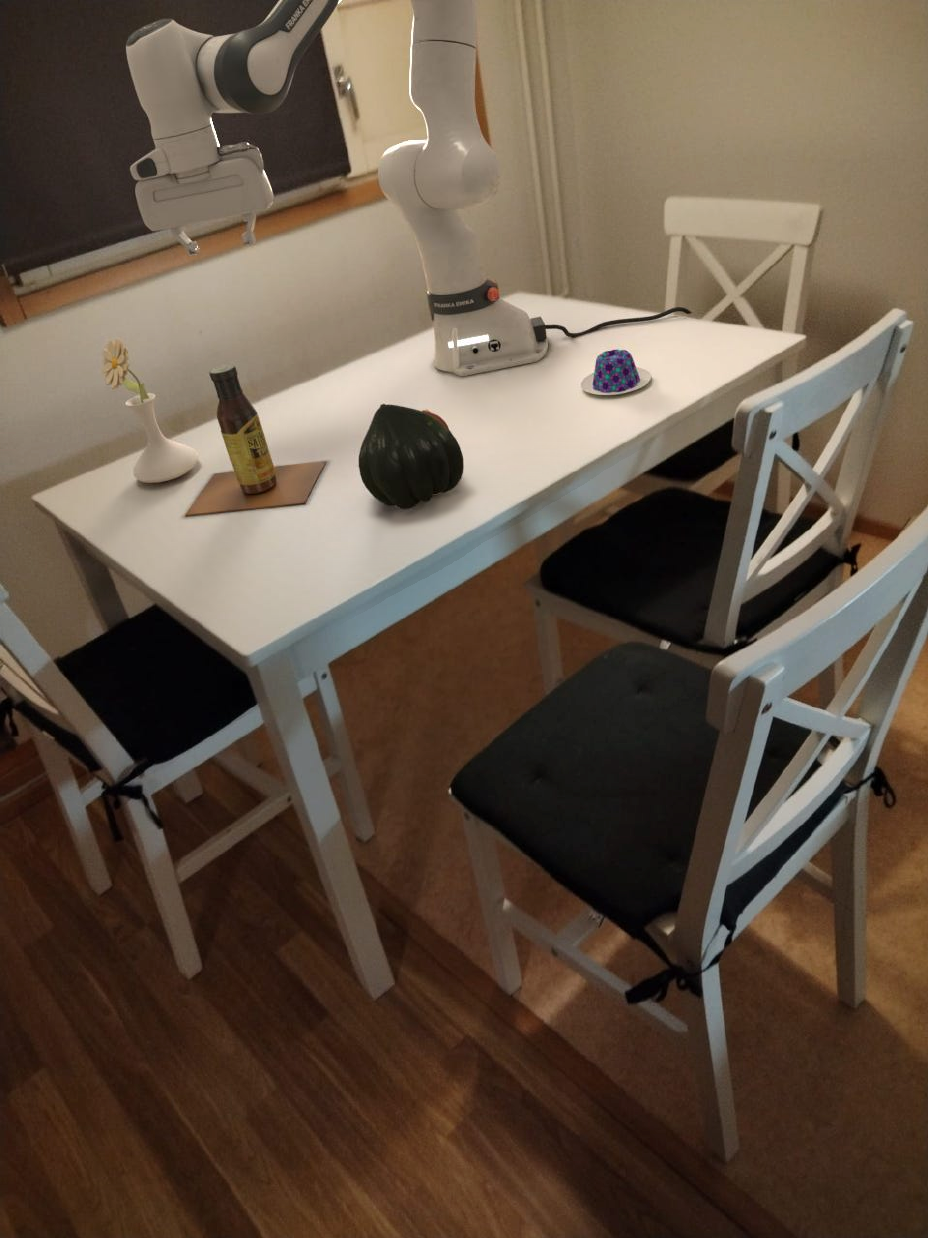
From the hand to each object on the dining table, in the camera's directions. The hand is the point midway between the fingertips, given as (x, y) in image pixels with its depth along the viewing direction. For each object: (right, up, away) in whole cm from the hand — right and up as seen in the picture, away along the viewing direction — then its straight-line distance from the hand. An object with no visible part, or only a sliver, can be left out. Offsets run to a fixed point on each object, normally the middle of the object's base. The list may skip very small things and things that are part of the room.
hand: (222, 249), depth 144 cm
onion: (+33, -31, +5) cm, 46 cm away
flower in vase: (-14, -32, +18) cm, 39 cm away
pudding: (+64, -17, +16) cm, 68 cm away
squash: (+30, -39, -5) cm, 50 cm away
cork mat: (+4, -36, +7) cm, 37 cm away
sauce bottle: (+4, -36, +7) cm, 37 cm away
